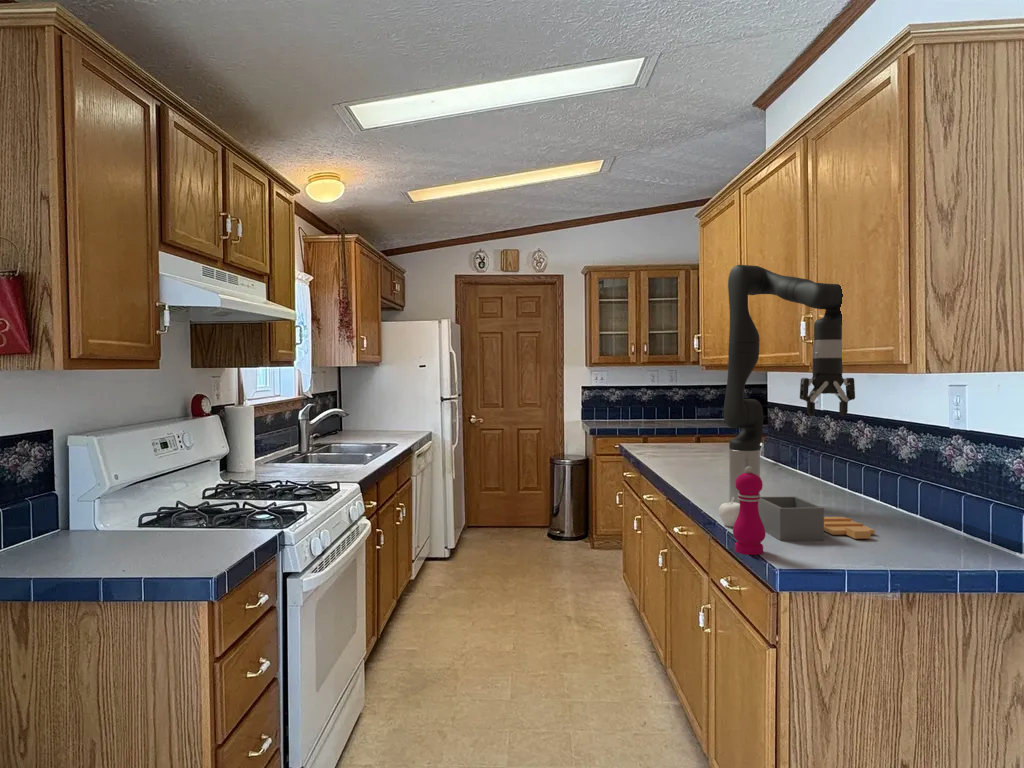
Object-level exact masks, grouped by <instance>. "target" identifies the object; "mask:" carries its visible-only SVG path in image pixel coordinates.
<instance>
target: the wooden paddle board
mask: <svg viewBox="0 0 1024 768" xmlns="http://www.w3.org/2000/svg"><path fill="white" fill-rule="evenodd" d="M824 532H826V533H828V534H830V535H833V536H848V537H850V538H852V539H855V540H856V539H858V540H860V539H862V540H863V539H871V535H875V534H876V531H875V529H873V528H871V527H869V526H866V525H864V524H863V523H862V522H857V521H855V520H852V518H849V517H848V518H847V517H845V516H824Z"/></svg>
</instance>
